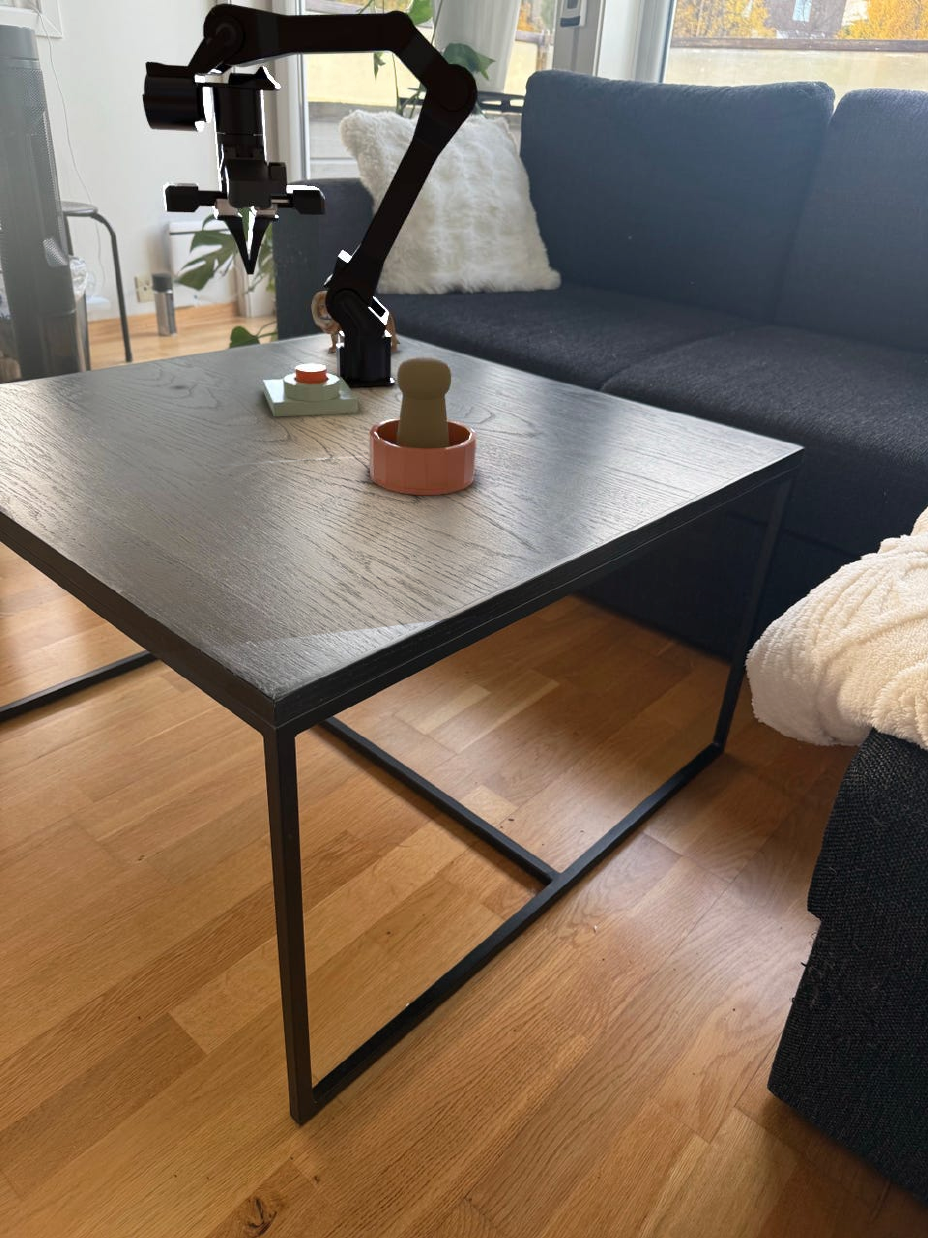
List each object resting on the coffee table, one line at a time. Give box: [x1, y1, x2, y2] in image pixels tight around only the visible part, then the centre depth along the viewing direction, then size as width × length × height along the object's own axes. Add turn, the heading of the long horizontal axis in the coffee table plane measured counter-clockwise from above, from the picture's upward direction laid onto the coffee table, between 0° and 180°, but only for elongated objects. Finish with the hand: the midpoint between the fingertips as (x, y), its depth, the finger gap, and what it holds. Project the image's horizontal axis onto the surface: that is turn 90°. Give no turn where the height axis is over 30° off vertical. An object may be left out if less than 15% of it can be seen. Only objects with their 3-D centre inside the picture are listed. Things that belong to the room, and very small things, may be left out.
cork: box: [396, 356, 452, 449], centre depth 87 cm, size 6×6×11 cm
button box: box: [262, 372, 359, 417], centre depth 109 cm, size 10×10×4 cm
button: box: [295, 363, 327, 384], centre depth 106 cm, size 4×4×2 cm
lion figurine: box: [310, 290, 401, 353], centre depth 132 cm, size 15×5×9 cm, turn 126°
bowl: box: [368, 417, 477, 496], centre depth 88 cm, size 10×10×4 cm
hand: (250, 274), depth 112 cm, fingers closed
